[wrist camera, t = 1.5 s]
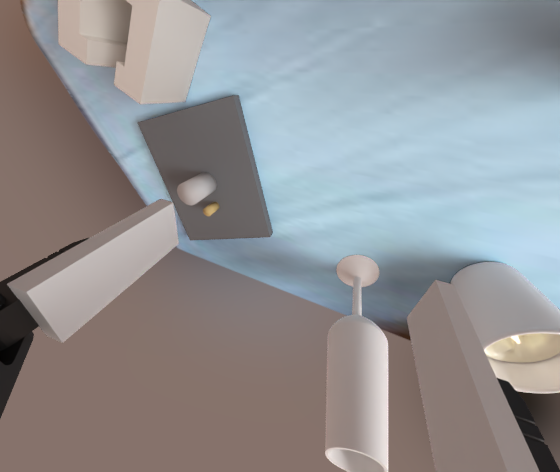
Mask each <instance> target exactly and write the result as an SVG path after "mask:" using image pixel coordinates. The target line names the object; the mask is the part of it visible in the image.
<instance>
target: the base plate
mask: <svg viewBox="0 0 560 472" xmlns="http://www.w3.org/2000/svg"><path fill="white" fill-rule="evenodd" d="M138 125H139V127H140V129H141V131H142V134H143V136H144V138H145V140H146V143H147V145H148V147H149V149H150V152H151V154H152V156H153V158H154V161H155V163H156V165H157V167H158V169H159V172H160V174H161V176H162V178H163V181H164V183H165V185H166V187H167V190H168V192H169V194H170V196H171V199H172V201H173V203H174V205H175V208H176V210H177V212H178V214H179V216H180V219H181V221H182V223H183V225H184V228H185V230H186V232H187V234H188V237H189V239H190V240H209V239H234V238H260V237H270V236H271V235H272V233H273V231H272V227H271V223H270V219H269V215H268V211H267V207H266V203H265V199H264V195H263V191H262V187H261V183H260V179H259V175H258V171H257V167H256V163H255V159H254V155H253V151H252V147H251V143H250V139H249V135H248V131H247V127H246V123H245V119H244V115H243V111H242V107H241V103H240V99H239V95H234V96H230V97H226V98H223V99H219V100H216V101H212V102H209V103H205V104H201V105H198V106H194V107H191V108H187V109H184V110H180V111H177V112H173V113H170V114H166V115H162V116H159V117H155V118H152V119H148V120H145V121H141V122H138Z"/></svg>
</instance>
